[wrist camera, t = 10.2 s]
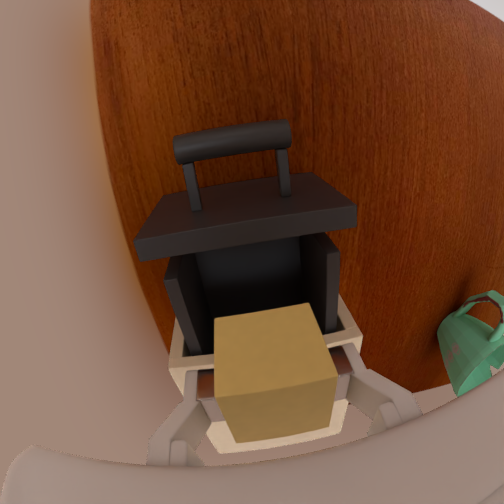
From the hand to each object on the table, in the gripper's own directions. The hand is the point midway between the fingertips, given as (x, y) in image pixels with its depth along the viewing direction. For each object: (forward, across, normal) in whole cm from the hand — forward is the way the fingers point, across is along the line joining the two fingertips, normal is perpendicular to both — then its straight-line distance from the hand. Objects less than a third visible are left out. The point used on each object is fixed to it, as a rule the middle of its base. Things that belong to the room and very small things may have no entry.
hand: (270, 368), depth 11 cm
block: (+2, 0, 0) cm, 2 cm away
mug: (+14, -27, +16) cm, 34 cm away
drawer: (+13, 0, 0) cm, 13 cm away
